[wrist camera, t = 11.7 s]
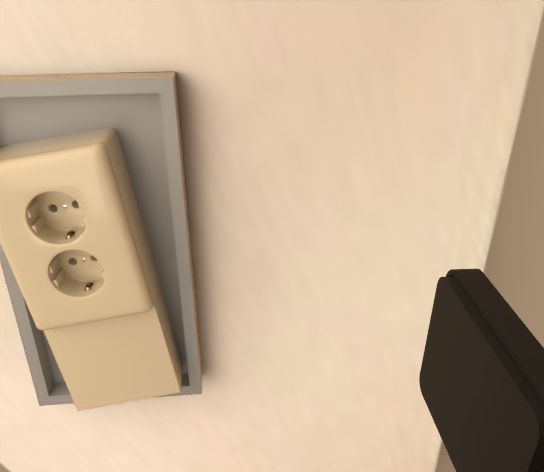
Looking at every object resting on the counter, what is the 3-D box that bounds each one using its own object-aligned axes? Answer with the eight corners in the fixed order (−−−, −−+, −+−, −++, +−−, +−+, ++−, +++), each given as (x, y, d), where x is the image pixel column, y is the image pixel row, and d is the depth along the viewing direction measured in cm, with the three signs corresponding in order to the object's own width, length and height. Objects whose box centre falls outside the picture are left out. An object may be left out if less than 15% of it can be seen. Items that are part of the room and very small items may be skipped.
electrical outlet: (74, 421, 35) (-36, 169, 27) (87, 379, 39) (-6, 147, 31) (179, 401, 35) (101, 145, 27) (183, 362, 39) (115, 126, 31)
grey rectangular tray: (-31, 76, 30) (-49, 83, 28) (175, 71, 31) (172, 77, 29) (48, 384, 39) (39, 405, 37) (202, 373, 40) (201, 393, 38)
